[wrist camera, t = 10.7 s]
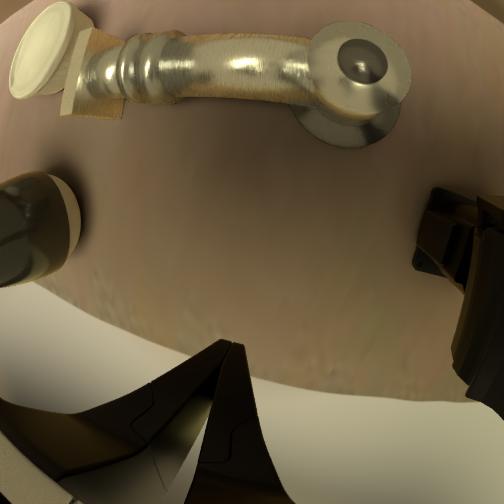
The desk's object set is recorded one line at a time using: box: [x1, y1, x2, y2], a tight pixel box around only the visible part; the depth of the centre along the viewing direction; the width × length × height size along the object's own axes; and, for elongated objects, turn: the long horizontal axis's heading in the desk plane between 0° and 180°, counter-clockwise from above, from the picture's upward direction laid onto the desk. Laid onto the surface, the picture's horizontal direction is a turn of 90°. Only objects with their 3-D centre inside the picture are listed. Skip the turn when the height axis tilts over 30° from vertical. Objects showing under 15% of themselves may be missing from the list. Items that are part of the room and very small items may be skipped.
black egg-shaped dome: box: [0, 171, 81, 288], centre depth 16 cm, size 10×10×15 cm
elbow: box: [134, 21, 411, 127], centre depth 13 cm, size 15×5×6 cm, turn 82°
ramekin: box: [9, 1, 94, 99], centre depth 15 cm, size 11×11×5 cm
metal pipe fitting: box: [60, 27, 401, 148], centre depth 14 cm, size 23×8×6 cm, turn 81°
